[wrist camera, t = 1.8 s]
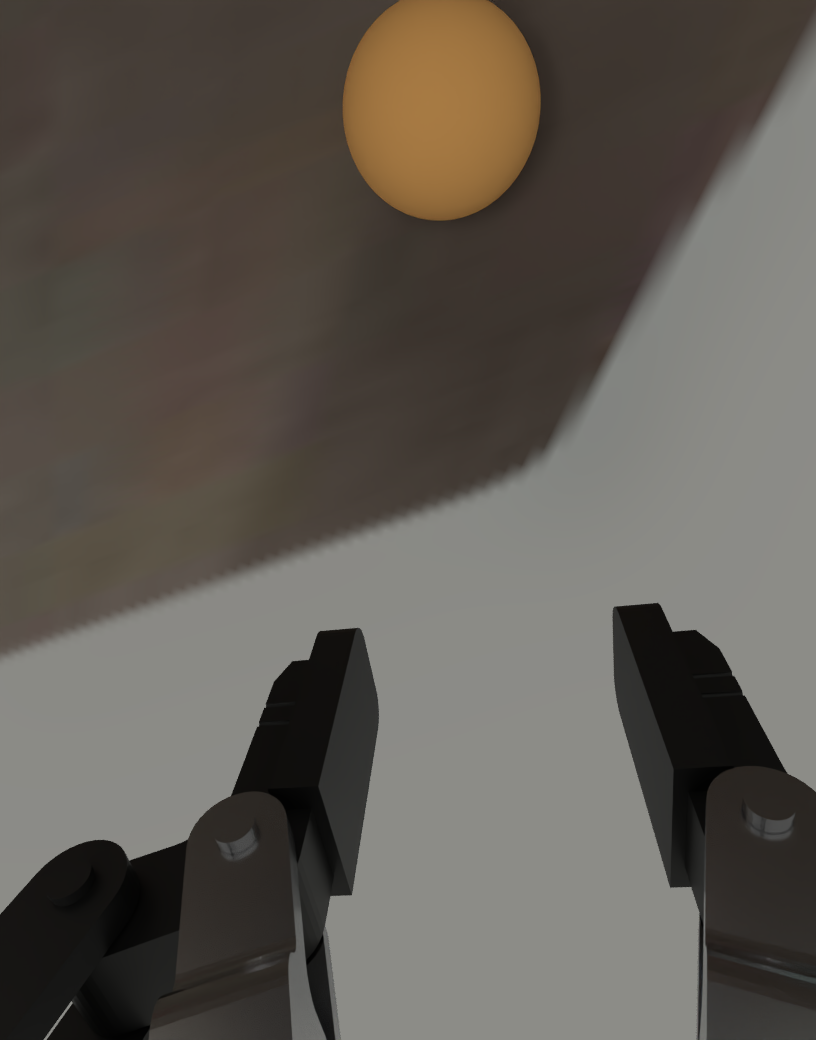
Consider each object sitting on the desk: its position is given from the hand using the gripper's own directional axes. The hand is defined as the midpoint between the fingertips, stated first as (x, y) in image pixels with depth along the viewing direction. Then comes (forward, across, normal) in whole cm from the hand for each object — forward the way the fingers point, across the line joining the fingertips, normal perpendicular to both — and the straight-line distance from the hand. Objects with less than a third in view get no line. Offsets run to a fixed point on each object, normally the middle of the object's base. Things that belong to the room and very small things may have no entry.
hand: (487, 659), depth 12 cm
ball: (+14, 0, -10) cm, 17 cm away
